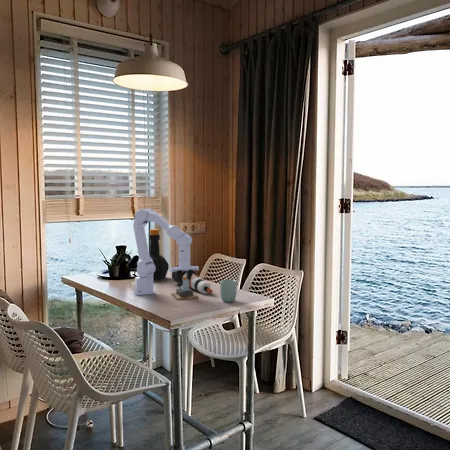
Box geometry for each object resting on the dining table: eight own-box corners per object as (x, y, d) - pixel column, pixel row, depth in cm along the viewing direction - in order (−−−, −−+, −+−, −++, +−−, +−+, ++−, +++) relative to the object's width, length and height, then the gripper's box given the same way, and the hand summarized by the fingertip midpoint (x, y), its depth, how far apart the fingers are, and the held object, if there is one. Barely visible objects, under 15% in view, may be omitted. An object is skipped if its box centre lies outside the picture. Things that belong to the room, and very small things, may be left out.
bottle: (135, 278, 266) (135, 229, 264) (158, 275, 278) (158, 227, 275) (150, 282, 255) (150, 231, 252) (173, 279, 266) (173, 229, 263)
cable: (206, 304, 225) (199, 289, 221) (175, 285, 253) (169, 271, 249) (221, 293, 230) (215, 278, 226) (189, 275, 257) (183, 261, 253)
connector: (183, 291, 220) (183, 277, 220) (180, 289, 224) (180, 275, 223) (188, 290, 221) (188, 277, 221) (186, 289, 225) (186, 275, 225)
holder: (176, 300, 216) (176, 293, 216) (171, 295, 226) (171, 288, 226) (198, 298, 220) (198, 291, 220) (191, 293, 231) (191, 286, 230)
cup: (229, 298, 221) (229, 278, 220) (239, 301, 215) (239, 281, 214) (217, 301, 215) (217, 280, 215) (227, 304, 210) (227, 283, 209)
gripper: (172, 260, 215) (172, 287, 216) (200, 259, 221) (200, 285, 222) (169, 258, 222) (169, 284, 223) (196, 256, 227) (196, 282, 228)
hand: (184, 285), depth 223 cm, fingers closed on connector, 3 cm apart
